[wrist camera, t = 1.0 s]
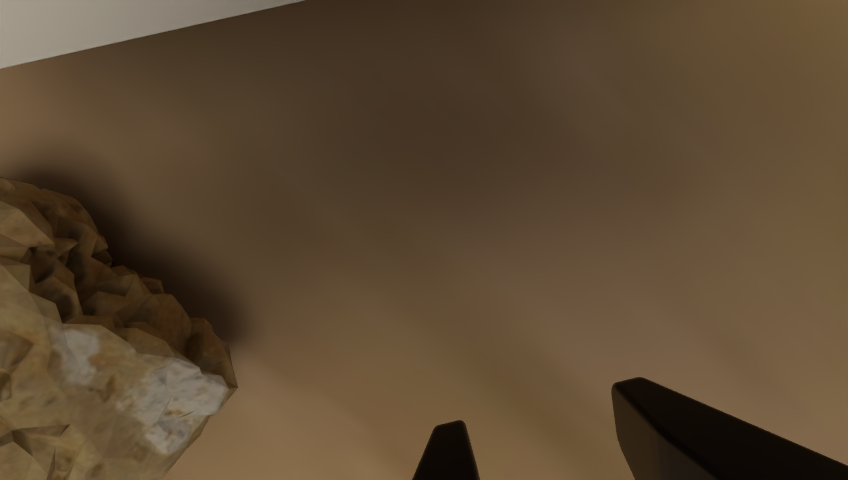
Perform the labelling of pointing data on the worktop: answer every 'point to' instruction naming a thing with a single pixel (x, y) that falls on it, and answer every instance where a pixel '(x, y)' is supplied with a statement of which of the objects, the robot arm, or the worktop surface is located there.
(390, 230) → the worktop surface
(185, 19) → the lid
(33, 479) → the rock
